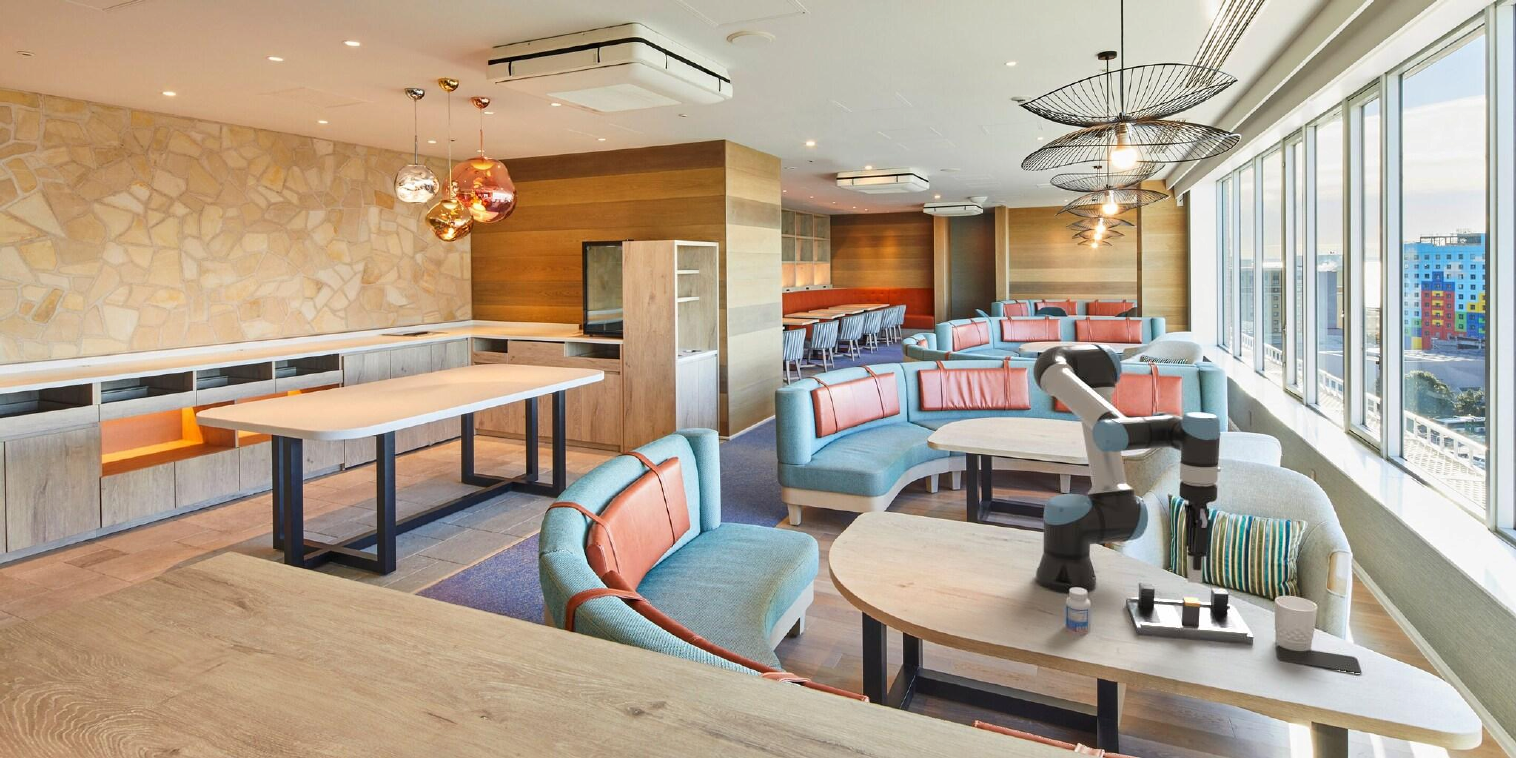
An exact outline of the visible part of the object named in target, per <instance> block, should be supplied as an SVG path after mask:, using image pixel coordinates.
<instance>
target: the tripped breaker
mask: <svg viewBox="0 0 1516 758" xmlns="http://www.w3.org/2000/svg"><path fill="white" fill-rule="evenodd" d="M1182 601H1183V606H1182V622H1183V624H1184V626H1194V627H1199V619H1200V602H1201V601H1199V598H1197V597H1187V596H1183V597H1182Z"/></svg>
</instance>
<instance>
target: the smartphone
mask: <svg viewBox="0 0 1516 758" xmlns="http://www.w3.org/2000/svg"><path fill="white" fill-rule="evenodd" d="M1275 654H1276V655H1275V657H1276V659H1277V660H1278V661H1280V662H1284V663H1290V664H1295V665H1300V666H1307V667H1311V668H1316V669H1317V668H1318V669H1322V668H1323V669H1324V670H1328V671H1333V670H1340V671H1346V672H1354V673H1361V674H1362V669H1361V667H1360V666H1361V665H1360V661H1359V660H1358V658H1357V657H1355V656H1352V655H1346V654H1339V653H1332V652H1326V651H1325V652H1324V651H1319V650H1312V649H1311V650H1307V651H1295V650H1290V649H1286V648H1283V647H1281V646H1280V645H1276V646H1275Z"/></svg>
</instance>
